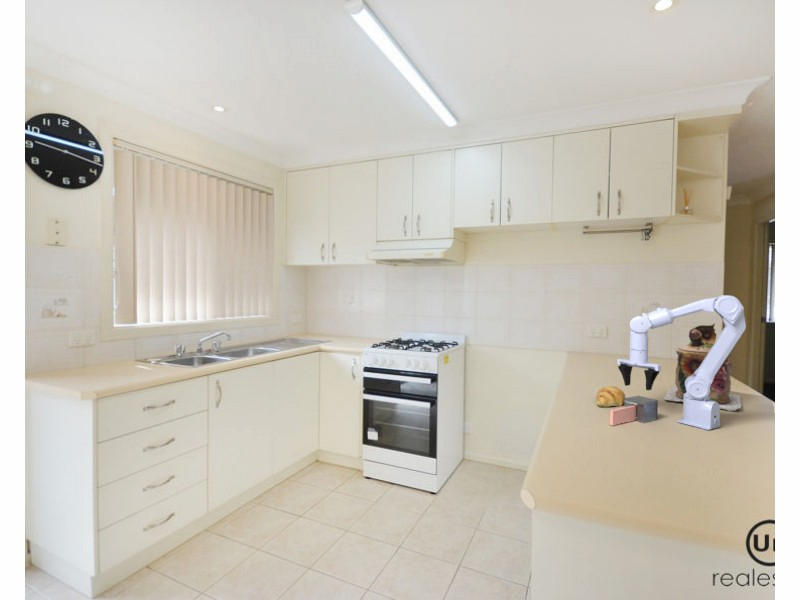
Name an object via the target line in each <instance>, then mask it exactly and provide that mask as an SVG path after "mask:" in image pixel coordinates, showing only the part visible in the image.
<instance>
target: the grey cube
mask: <svg viewBox="0 0 800 600" xmlns="http://www.w3.org/2000/svg"><path fill="white" fill-rule="evenodd" d="M658 403H659V400H658V399H654V398H649V397H647V396H642V395H635V396H634V395H633V396H630V397H625V400H624V407H628V406H633V405H635V406H637V409H636V417H637V418H636V422H638V421H640V422H639V423H642V422H643V423H642V424H646V423H649V422H648V421H650V422H653V421H652V420H654V421H657V420H658V407H659V404H658ZM656 419H657V420H656ZM645 422H646V423H645Z"/></svg>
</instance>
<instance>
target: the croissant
mask: <svg viewBox="0 0 800 600" xmlns="http://www.w3.org/2000/svg"><path fill="white" fill-rule="evenodd" d="M595 398H596V405H597V406H599V407H601V408H602V407H604V408H605V407H606V408H608V407H609V408H610V406H616V407H621V406H622V405H623V404H625V398H626V394H625V392H624V391H623V390H622V389H620V388H619V387H618V386H613V385H611V386H605V387H602V388H600V389H599V390H598V391H597V392H596V397H595Z"/></svg>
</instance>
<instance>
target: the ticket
mask: <svg viewBox="0 0 800 600" xmlns="http://www.w3.org/2000/svg"><path fill="white" fill-rule="evenodd" d="M636 409H637V406H635V405H633V406H628V407H625V406H624V407H620V408H615V409H611V410H609V411H610V412H609V425H610V426H616V425H617V424H618V425H621V423H622V424H625V422H626V423H629V422H634V421H637V418H636Z"/></svg>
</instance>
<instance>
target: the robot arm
mask: <svg viewBox="0 0 800 600" xmlns="http://www.w3.org/2000/svg"><path fill="white" fill-rule="evenodd" d="M714 311H715V312H716V314H718V315H719V316H720V319H721V320H722V323H723V324H724V327H723V329H722V330H721V332H720V334H719V336H718V337H717V338H716V339H715V343H714V345H713V346H712V348H711V349H710V351H709V353H708V354H707V356H706V357H705V359H704V360H703V362H702V363H701V365H700V367H699V368H698V369H697V370H696V371H695V372H694V374H693V375H691V376H689V377H688V378H687V379H686V380H685V387H686V391H687V392H686V393H685V394H684V396H683V402H682V403H683V404H682V406H683V407H682V408H683V410H682V418H681V419H678V420H677V421H676V422H677V423H681V424H684V425H688V426H691V427H696V428H698V429H703V430H706V431H711V430H713V429H718V428H720V427H721V423H720V420H721V417H720V416H721V414H720V413H721V409H720V406H719V403H717V402H715V401H712V400H710V397H709V396H708V395H709V393H710V385H711V384H712V382H713V379H714V376H715V375H716V373H717V372H718V370H719V368H720V367H721V365H722V364H723V362H724V361H725V359H726V358H727V356H728V355H729V353H730V354H731V352H732V351H733V349H734V347H735V346H736V345H737V343H738V342H739V340H740V338H741V336H742V335H743V334H744V332H745V331H746V328H747V324H746V317H745V308H744V306H743V303H741V301H740V300H739V299H738V298H737V297H736V296H733V295H726V294H725V295H718V296H715V297H708V298H702V299H699V300H696V301H694V302H690V303H687V304H685V305H682V306H679V307H675V308H673V309H670V308H667V307H663V308H662V307H657V308H656V310H654V311H650V312H647V313H646V312H643V313H642V312H641V315H638V316H635V317H633V318H632V319H631V320H630V322H629V327H630V332H629V334H630V336H629V357H628V358H629V359H626V358H625V359H624V358H617V359H616V361H617V362H616V363H617V364H616V365H618V366H617V369H618V370H619V371H620V373H621V377H622V378H623V381H624V382H623V383H624V386H626V387H627V386H631V375H632V371H633V367H634V368H639V369H645V370H643V371H644V375H645V390H646V391H651V390H652V389H653V385H654V382H655V381H656V379H657V377H658V375H660V372H661V371H662V364H657V363H653V362H652V363H651V362H649V337H648V333H649V331H648V330H649V329H651V330H654V329H657V328H660V327H661V328H662V327H664V326H667V325H671V324H672V323H674V321H675V319H677V318H681V317H684V316H688V315H691V314H696V313H699V312H709V313H714Z"/></svg>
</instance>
